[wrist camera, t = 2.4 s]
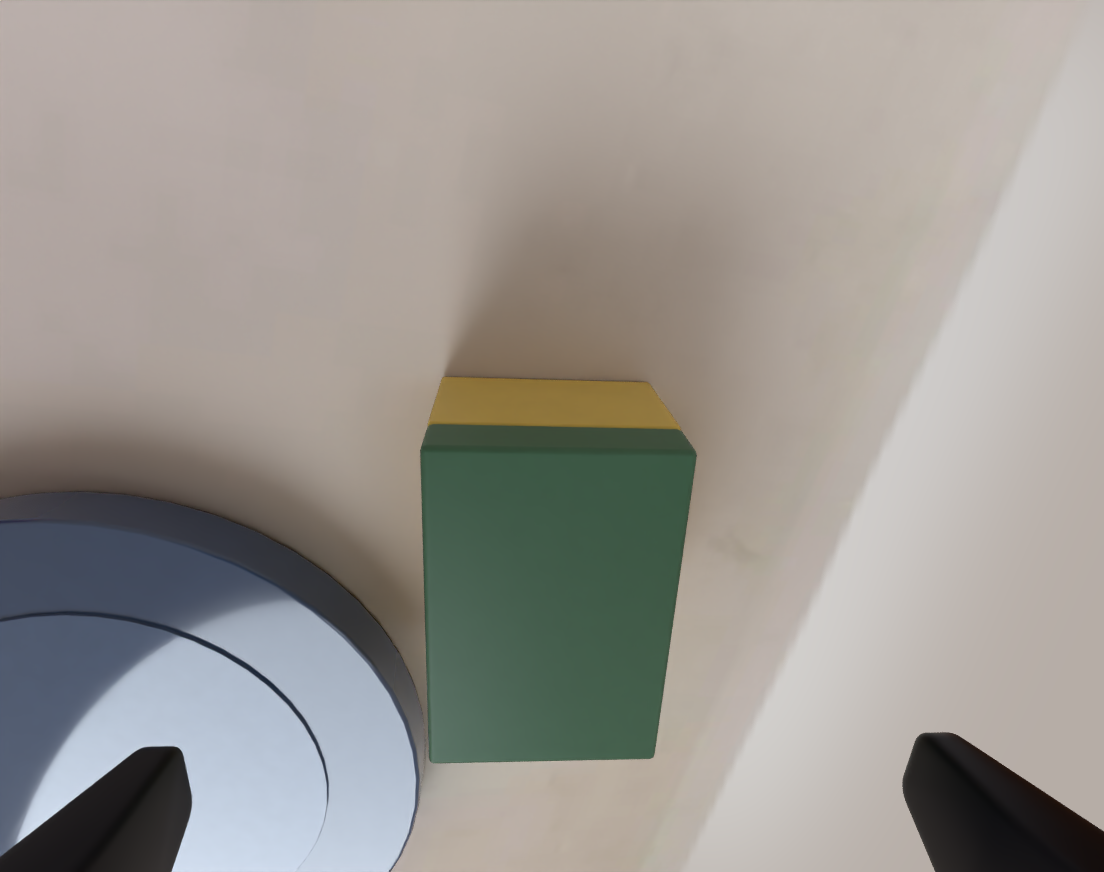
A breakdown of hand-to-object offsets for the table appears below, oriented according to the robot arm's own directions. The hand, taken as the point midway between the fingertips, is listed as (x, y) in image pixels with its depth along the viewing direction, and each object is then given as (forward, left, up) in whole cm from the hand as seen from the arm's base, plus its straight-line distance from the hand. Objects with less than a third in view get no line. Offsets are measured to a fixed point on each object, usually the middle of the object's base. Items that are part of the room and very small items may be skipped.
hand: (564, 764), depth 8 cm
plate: (-6, +9, -6) cm, 12 cm away
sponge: (0, 0, -6) cm, 6 cm away
